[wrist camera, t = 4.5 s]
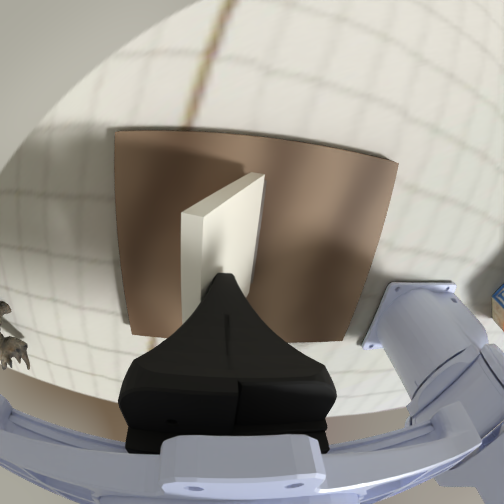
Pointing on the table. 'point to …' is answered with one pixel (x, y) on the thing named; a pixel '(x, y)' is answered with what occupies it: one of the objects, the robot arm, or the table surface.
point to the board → (269, 226)
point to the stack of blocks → (498, 307)
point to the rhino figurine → (11, 344)
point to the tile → (219, 239)
